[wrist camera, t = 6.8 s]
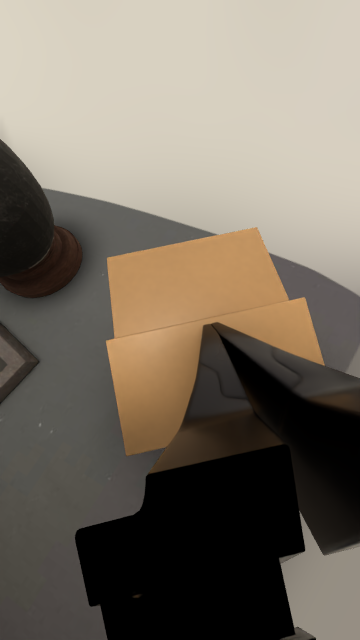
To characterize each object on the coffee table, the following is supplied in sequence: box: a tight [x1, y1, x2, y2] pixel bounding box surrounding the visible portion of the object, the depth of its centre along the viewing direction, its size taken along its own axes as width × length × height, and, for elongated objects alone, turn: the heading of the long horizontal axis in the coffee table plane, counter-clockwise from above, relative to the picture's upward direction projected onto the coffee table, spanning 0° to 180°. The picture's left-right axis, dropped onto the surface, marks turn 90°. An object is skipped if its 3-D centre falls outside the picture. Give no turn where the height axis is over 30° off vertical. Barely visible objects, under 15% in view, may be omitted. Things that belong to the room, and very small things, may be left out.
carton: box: [107, 228, 289, 339], centre depth 14 cm, size 13×12×8 cm
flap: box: [106, 298, 325, 456], centre depth 9 cm, size 6×12×1 cm, turn 102°
